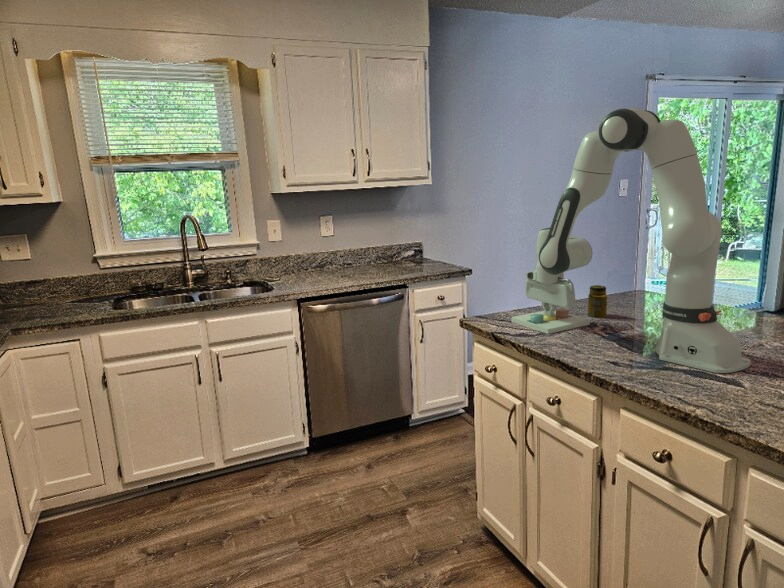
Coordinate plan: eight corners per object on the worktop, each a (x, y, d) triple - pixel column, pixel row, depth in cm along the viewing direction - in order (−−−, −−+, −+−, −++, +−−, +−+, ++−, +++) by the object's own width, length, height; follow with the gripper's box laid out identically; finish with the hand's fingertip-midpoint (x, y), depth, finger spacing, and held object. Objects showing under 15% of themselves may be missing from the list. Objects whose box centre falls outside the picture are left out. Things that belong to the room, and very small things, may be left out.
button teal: (546, 325, 170) (546, 315, 169) (536, 328, 168) (536, 317, 168) (537, 323, 174) (537, 313, 173) (527, 325, 172) (527, 315, 171)
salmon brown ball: (571, 320, 175) (571, 310, 174) (561, 322, 173) (561, 312, 172) (562, 317, 178) (562, 308, 178) (552, 319, 177) (553, 310, 176)
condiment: (610, 319, 179) (612, 285, 176) (600, 325, 173) (601, 290, 171) (590, 316, 184) (591, 283, 181) (579, 321, 178) (580, 288, 176)
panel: (589, 328, 170) (589, 319, 169) (547, 338, 162) (547, 329, 161) (551, 317, 185) (551, 309, 185) (511, 325, 178) (511, 317, 177)
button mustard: (558, 325, 173) (558, 315, 172) (549, 328, 171) (549, 318, 170) (549, 323, 176) (550, 313, 176) (540, 325, 175) (540, 315, 174)
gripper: (580, 278, 162) (579, 320, 165) (536, 270, 180) (536, 308, 183) (565, 281, 159) (564, 324, 162) (522, 272, 178) (522, 311, 181)
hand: (549, 315), depth 173 cm, fingers closed, pressing on button mustard
